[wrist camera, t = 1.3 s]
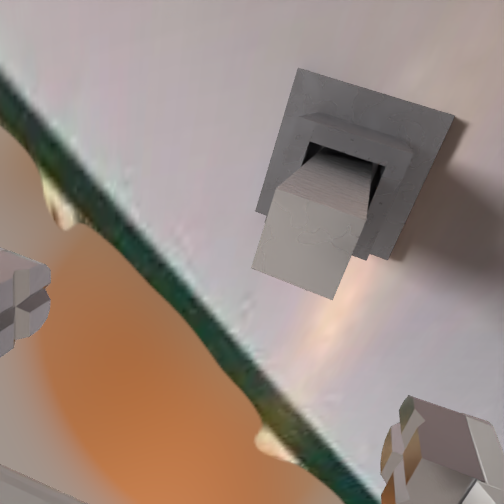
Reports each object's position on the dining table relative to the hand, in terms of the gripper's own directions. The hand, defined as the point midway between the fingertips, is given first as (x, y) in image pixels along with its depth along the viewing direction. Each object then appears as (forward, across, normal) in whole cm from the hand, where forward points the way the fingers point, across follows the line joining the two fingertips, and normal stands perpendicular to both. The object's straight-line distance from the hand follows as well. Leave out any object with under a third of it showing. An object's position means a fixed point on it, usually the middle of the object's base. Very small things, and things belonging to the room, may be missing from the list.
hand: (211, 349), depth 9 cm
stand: (+34, +1, -1) cm, 34 cm away
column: (+32, +1, -1) cm, 32 cm away
